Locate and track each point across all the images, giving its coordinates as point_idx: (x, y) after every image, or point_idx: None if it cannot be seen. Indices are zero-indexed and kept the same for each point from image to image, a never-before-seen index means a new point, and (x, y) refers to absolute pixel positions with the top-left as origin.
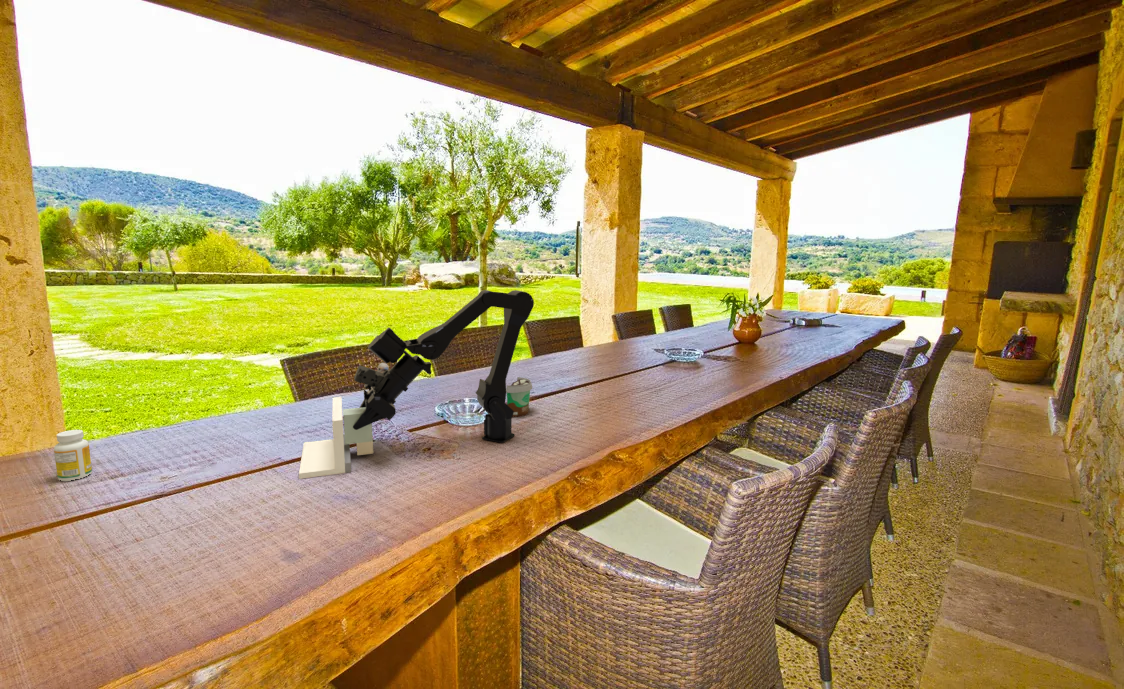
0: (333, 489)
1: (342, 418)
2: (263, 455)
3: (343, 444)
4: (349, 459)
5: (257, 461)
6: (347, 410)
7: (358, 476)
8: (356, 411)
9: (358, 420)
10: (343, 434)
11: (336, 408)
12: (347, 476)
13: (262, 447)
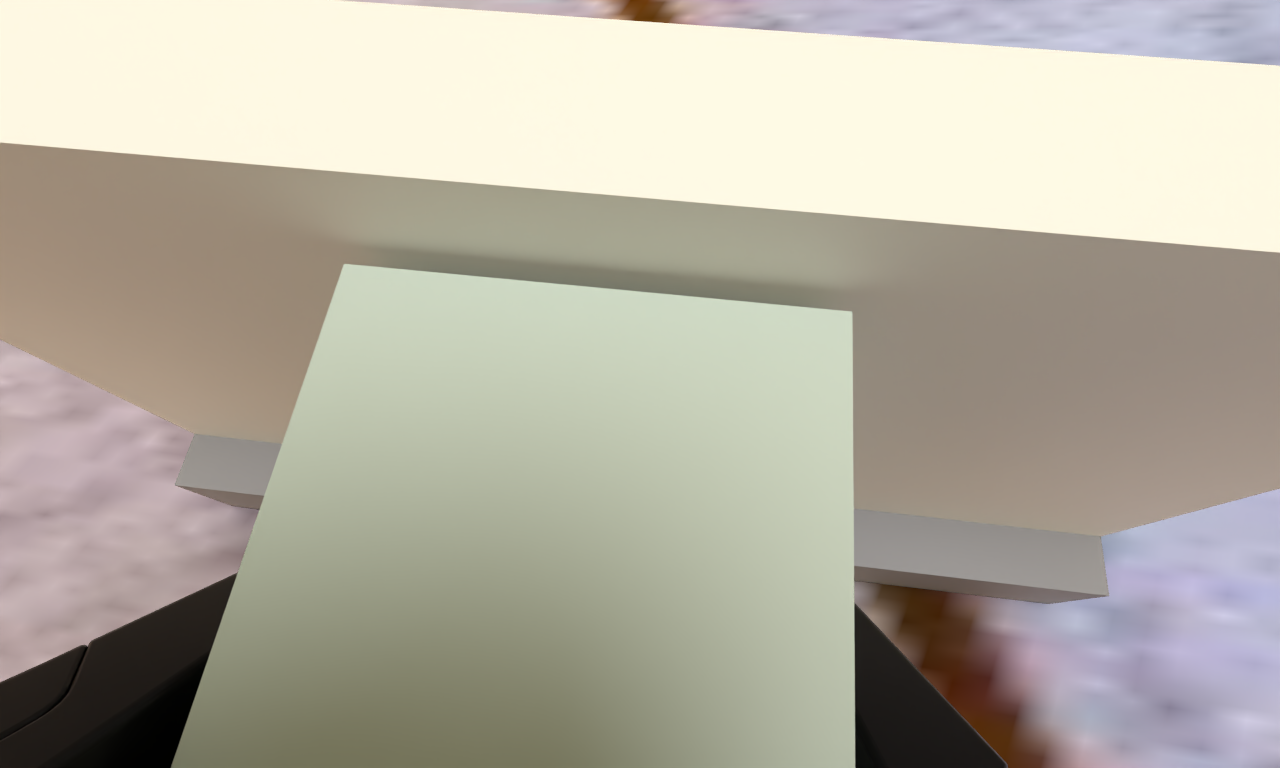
0: (12, 350)
1: (292, 264)
2: (908, 26)
3: (30, 350)
4: (261, 486)
5: (804, 3)
6: (696, 388)
7: (103, 548)
8: (491, 588)
9: (211, 589)
10: (1093, 536)
11: (554, 81)
12: (168, 467)
13: (1082, 20)
